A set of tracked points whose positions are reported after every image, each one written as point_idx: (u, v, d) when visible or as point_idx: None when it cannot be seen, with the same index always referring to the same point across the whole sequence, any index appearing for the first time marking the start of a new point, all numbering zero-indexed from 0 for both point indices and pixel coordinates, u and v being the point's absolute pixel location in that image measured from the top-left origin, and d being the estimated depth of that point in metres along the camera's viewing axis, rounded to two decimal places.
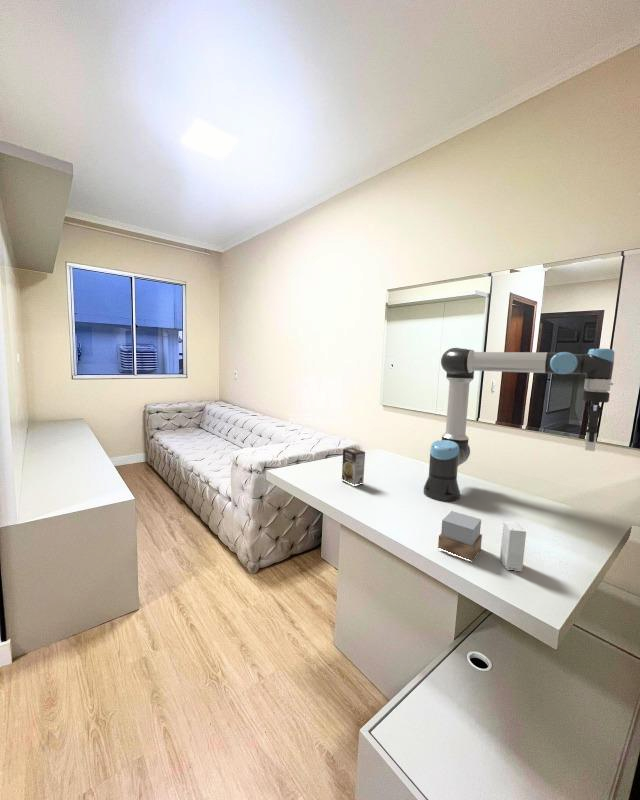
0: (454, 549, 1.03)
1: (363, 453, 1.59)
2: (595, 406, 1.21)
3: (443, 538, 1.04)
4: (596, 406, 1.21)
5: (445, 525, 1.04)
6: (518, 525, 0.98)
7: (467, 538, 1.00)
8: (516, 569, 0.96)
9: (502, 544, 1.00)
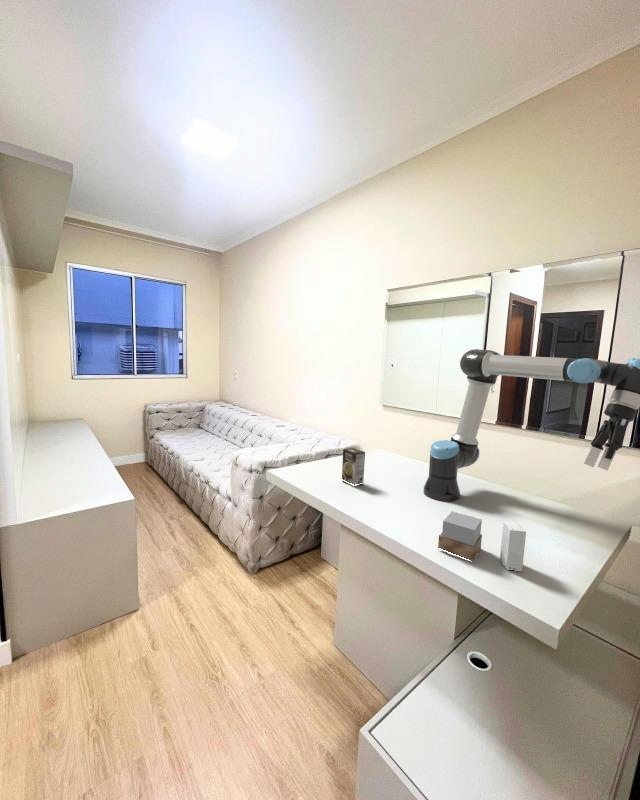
0: (454, 549, 1.03)
1: (363, 453, 1.59)
2: (624, 420, 1.04)
3: (443, 538, 1.04)
4: (625, 420, 1.04)
5: (447, 526, 1.04)
6: (518, 525, 0.98)
7: (469, 538, 1.00)
8: (516, 569, 0.96)
9: (502, 544, 1.00)
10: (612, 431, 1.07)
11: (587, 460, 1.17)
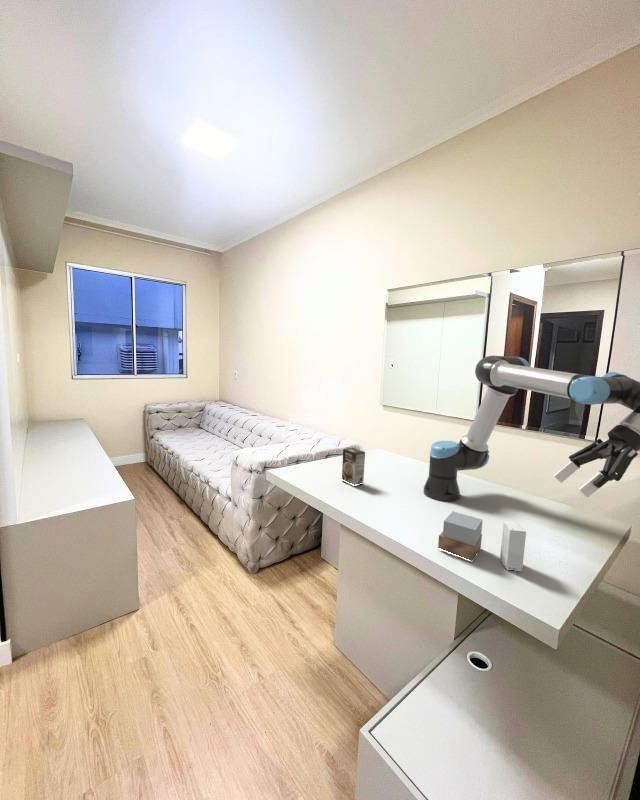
0: (454, 549, 1.03)
1: (363, 453, 1.59)
2: (633, 451, 0.87)
3: (443, 538, 1.05)
4: (634, 452, 0.87)
5: (447, 526, 1.04)
6: (518, 525, 0.98)
7: (469, 538, 1.00)
8: (516, 569, 0.96)
9: (502, 544, 1.00)
10: (612, 457, 0.90)
11: (559, 474, 1.02)
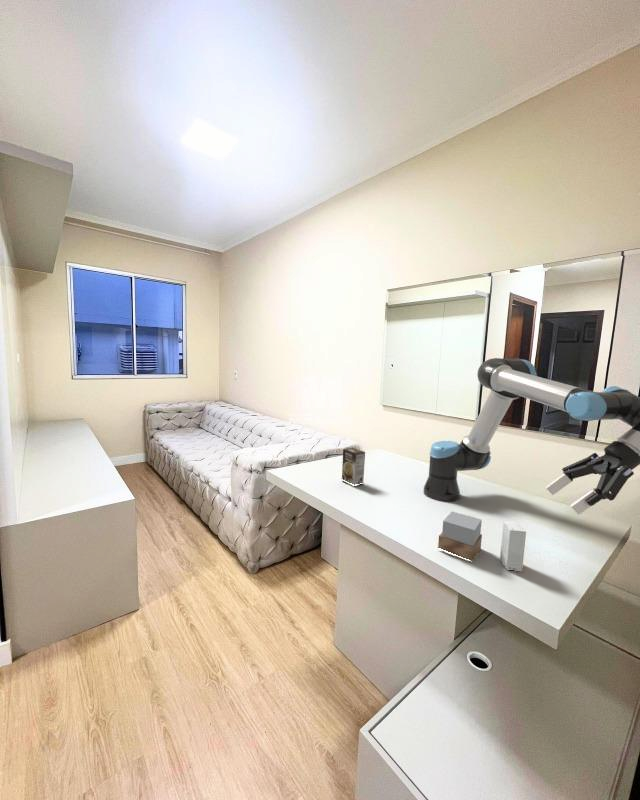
0: (454, 549, 1.03)
1: (363, 453, 1.59)
2: (630, 471, 0.84)
3: (443, 538, 1.04)
4: (630, 471, 0.85)
5: (446, 526, 1.04)
6: (518, 525, 0.98)
7: (469, 538, 1.00)
8: (516, 569, 0.96)
9: (502, 544, 1.00)
10: (607, 475, 0.88)
11: (551, 486, 1.00)
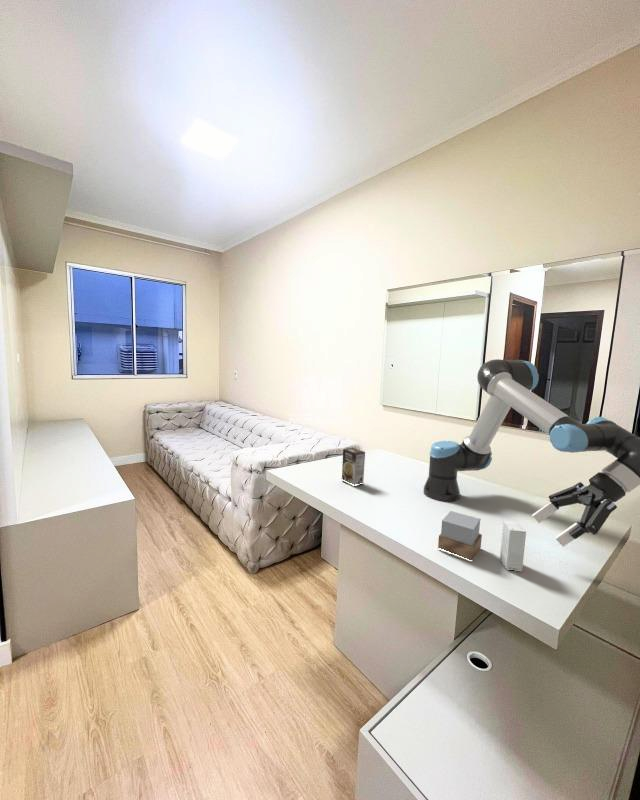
0: (454, 549, 1.03)
1: (363, 453, 1.59)
2: (613, 505, 0.86)
3: (443, 538, 1.05)
4: (613, 505, 0.86)
5: (445, 526, 1.04)
6: (518, 525, 0.98)
7: (467, 538, 1.01)
8: (516, 569, 0.96)
9: (502, 544, 1.00)
10: (591, 507, 0.89)
11: (537, 514, 1.01)
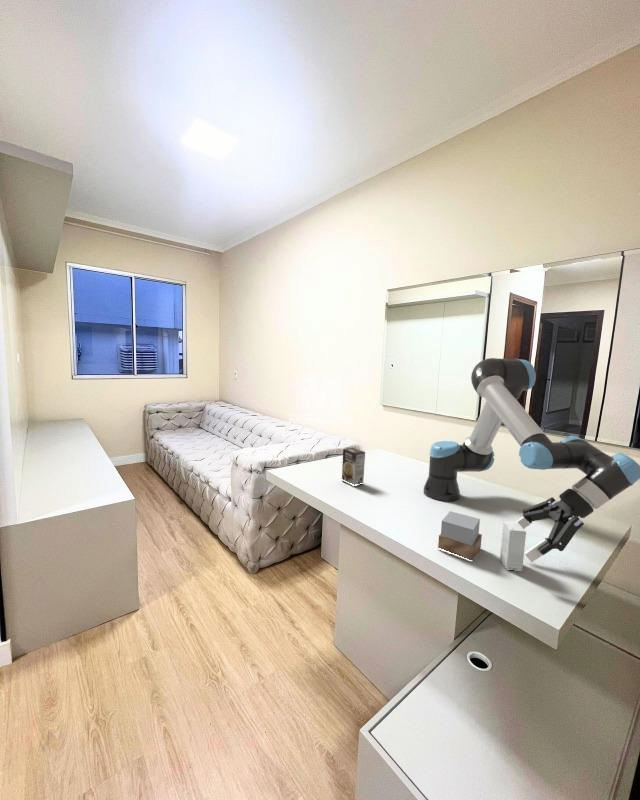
0: (454, 549, 1.03)
1: (363, 453, 1.59)
2: (580, 521, 0.87)
3: (443, 538, 1.05)
4: (580, 522, 0.87)
5: (445, 526, 1.04)
6: (518, 525, 0.98)
7: (467, 538, 1.00)
8: (516, 569, 0.96)
9: (502, 544, 1.00)
10: (559, 524, 0.90)
11: None
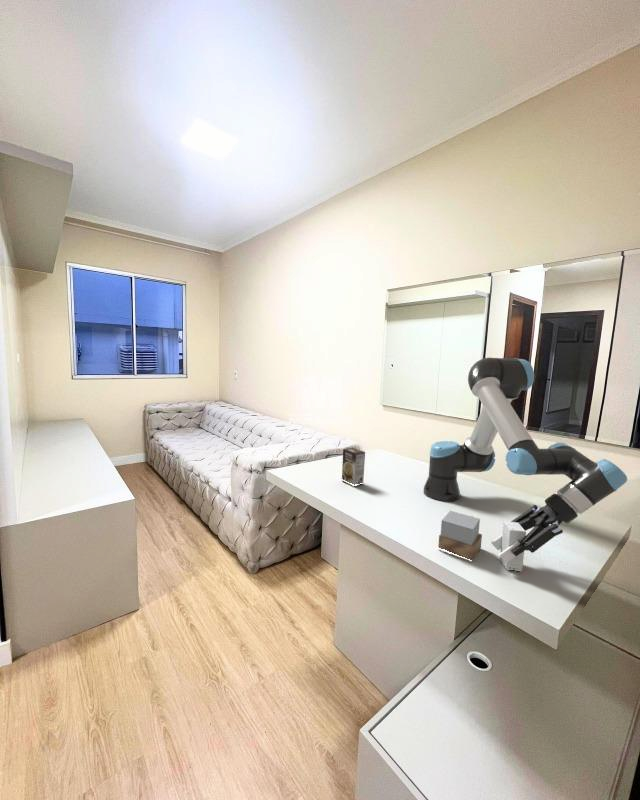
0: (454, 549, 1.03)
1: (363, 453, 1.59)
2: (558, 530, 0.89)
3: (443, 538, 1.05)
4: (559, 530, 0.89)
5: (445, 525, 1.04)
6: (518, 525, 0.98)
7: (467, 537, 1.01)
8: (516, 569, 0.96)
9: (502, 544, 1.00)
10: (538, 528, 0.93)
11: (496, 541, 1.02)
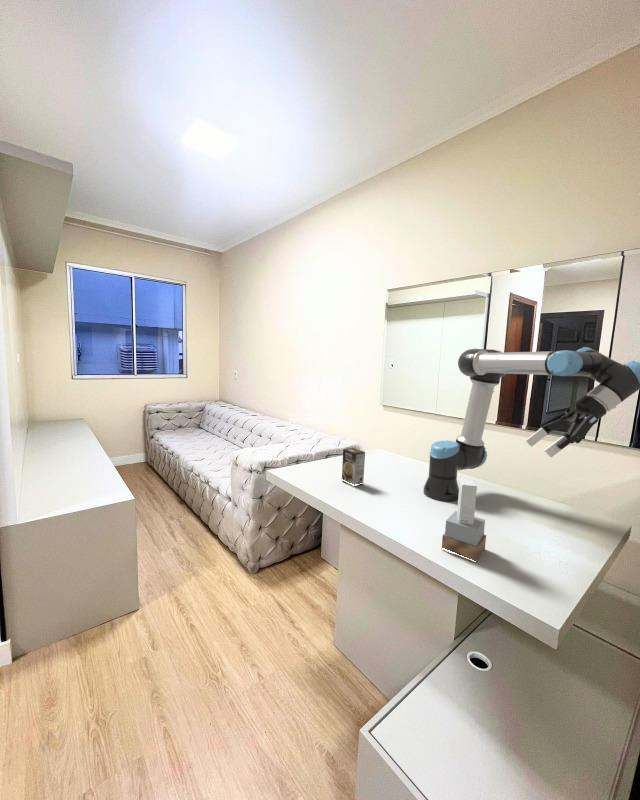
0: (457, 549, 1.03)
1: (363, 453, 1.59)
2: (594, 418, 0.98)
3: (446, 538, 1.05)
4: (595, 419, 0.98)
5: (449, 525, 1.04)
6: (472, 482, 1.05)
7: (471, 538, 1.00)
8: (468, 522, 1.02)
9: (458, 500, 1.07)
10: (576, 423, 1.01)
11: (530, 438, 1.14)
